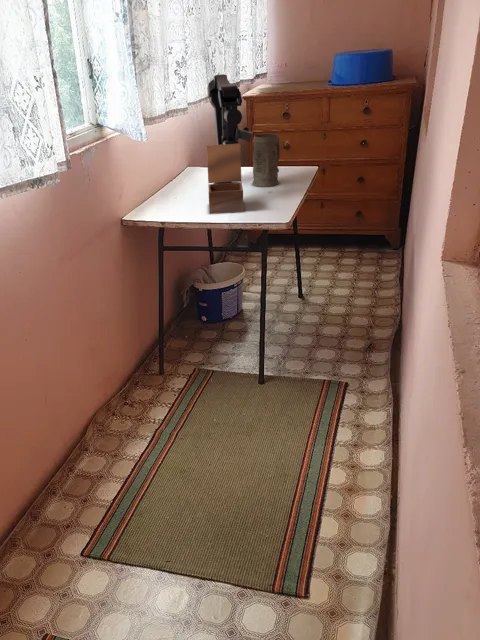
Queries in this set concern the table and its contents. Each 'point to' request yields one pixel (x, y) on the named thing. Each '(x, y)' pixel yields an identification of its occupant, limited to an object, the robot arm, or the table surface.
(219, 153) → the lid
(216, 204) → the walnut box
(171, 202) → the table surface
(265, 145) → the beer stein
